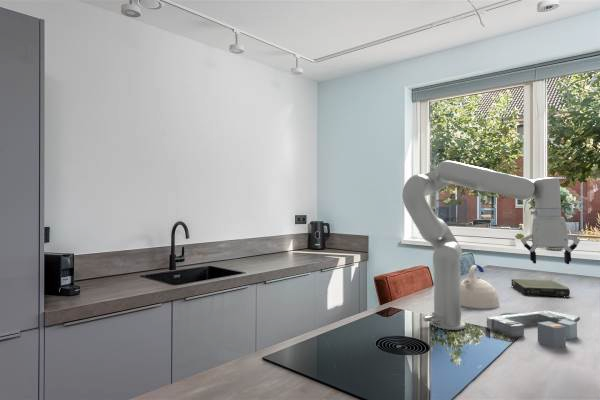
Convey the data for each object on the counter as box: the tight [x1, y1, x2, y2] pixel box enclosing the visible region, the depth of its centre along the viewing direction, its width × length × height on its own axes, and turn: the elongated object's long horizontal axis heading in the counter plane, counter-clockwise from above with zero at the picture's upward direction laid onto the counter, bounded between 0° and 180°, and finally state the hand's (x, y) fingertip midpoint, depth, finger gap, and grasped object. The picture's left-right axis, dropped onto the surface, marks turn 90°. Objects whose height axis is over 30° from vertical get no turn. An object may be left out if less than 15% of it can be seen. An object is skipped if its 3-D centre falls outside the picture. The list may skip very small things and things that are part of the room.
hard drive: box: [543, 309, 581, 322], centre depth 159 cm, size 2×8×12 cm
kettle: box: [460, 264, 500, 310], centre depth 182 cm, size 20×21×18 cm
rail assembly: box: [486, 310, 571, 339], centre depth 144 cm, size 28×11×4 cm, turn 107°
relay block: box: [557, 320, 578, 340], centre depth 136 cm, size 5×4×5 cm
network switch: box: [511, 278, 571, 298], centre depth 204 cm, size 23×23×5 cm
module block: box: [537, 321, 567, 349], centre depth 129 cm, size 5×6×7 cm
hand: (550, 263), depth 134 cm, fingers open, 9 cm apart
